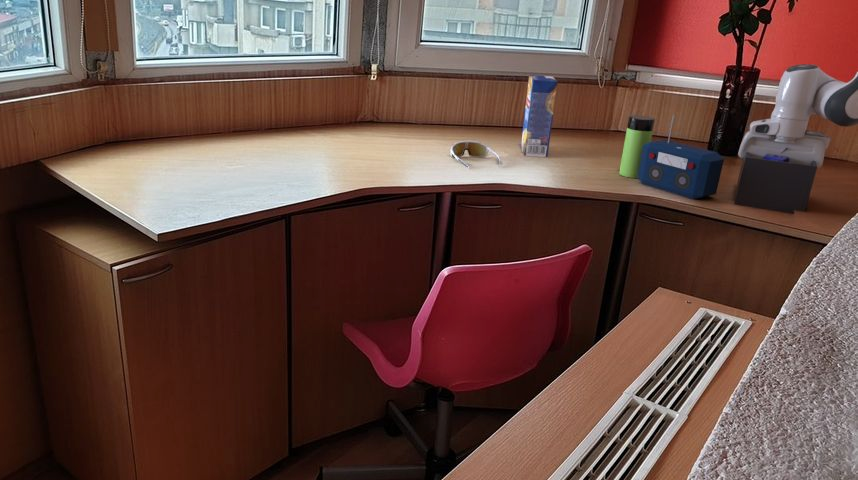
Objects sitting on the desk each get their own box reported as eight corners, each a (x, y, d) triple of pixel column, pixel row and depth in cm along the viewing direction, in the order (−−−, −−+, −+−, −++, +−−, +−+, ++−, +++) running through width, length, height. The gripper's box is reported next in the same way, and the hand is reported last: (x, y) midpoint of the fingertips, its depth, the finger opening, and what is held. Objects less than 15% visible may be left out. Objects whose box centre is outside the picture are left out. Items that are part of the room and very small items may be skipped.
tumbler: (618, 171, 219) (627, 114, 213) (643, 173, 218) (653, 115, 211) (620, 177, 212) (630, 118, 206) (646, 179, 211) (657, 120, 204)
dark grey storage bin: (800, 198, 200) (812, 153, 195) (803, 215, 185) (817, 166, 180) (735, 188, 206) (746, 144, 202) (734, 204, 191) (745, 157, 187)
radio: (633, 182, 207) (646, 113, 199) (652, 179, 212) (665, 111, 204) (698, 202, 191) (714, 127, 184) (716, 197, 196) (733, 125, 189)
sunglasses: (484, 154, 229) (487, 140, 227) (504, 173, 217) (507, 158, 214) (443, 156, 225) (445, 141, 222) (461, 175, 213) (464, 159, 210)
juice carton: (547, 157, 231) (557, 81, 222) (524, 155, 231) (533, 79, 222) (542, 148, 242) (552, 76, 233) (520, 147, 243) (529, 74, 234)
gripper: (831, 131, 187) (816, 182, 192) (745, 121, 195) (733, 171, 200) (833, 135, 182) (818, 188, 187) (745, 125, 189) (733, 175, 195)
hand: (773, 179), depth 193 cm, fingers closed on ink cartridge box, 6 cm apart
